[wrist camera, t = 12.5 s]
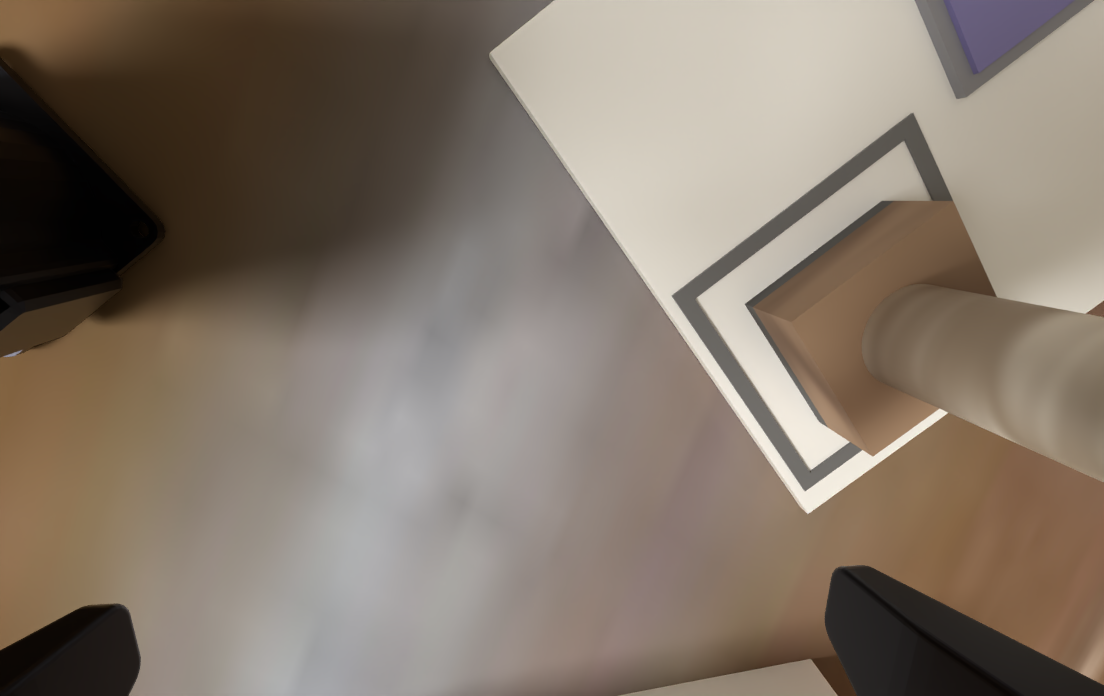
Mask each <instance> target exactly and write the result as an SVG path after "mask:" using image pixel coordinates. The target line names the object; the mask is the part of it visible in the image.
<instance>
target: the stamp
mask: <svg viewBox="0 0 1104 696" xmlns="http://www.w3.org/2000/svg"><path fill="white" fill-rule="evenodd" d="M745 306H746V307H747V309H748V310H749V312H750V314H751V315H752V317H753V318H754V320H755V321H756V323H757V325H758V326H759V328H760V329H761V331H762V333H763V334H764V336H765V337H766V339H767V340H768V342H769V344H770V345H771V347H772V348H773V350H774V351H775V353H776V355H777V356H778V358H779V359H780V361H781V363H782V364H783V366H784V367H785V369H786V370H787V372H788V374H789V375H790V377H791V378H792V380H793V382H794V383H795V385H796V386H797V388H798V389H799V391H800V393H801V394H802V396H803V397H804V399H805V400H806V402H807V404H808V405H809V407H810V408H811V410H812V412H813V413H814V415H815V416H816V418H817V419H818V421H819V422H820V423H821V424H823V425H825V426H826V427H828V428H829V429H831V430H832V431H834V432H835V433H837V434H838V435H840V436H842V437H843V438H845V439H846V440H848V441H849V442H851V443H852V444H854V445H856V446H857V447H859V448H860V449H862V450H863V451H865V452H866V453H868V454H869V455H871V456H875V455H876V454H877V453H879V452H880V451H882V450H883V449H884V448H886V447H887V446H889V445H890V444H891V443H893V442H894V441H895V440H897V439H898V438H900V437H901V436H902V435H904V434H905V433H906V432H908V431H909V430H911V429H912V428H913V427H915V426H916V425H918V424H919V423H920V422H922V421H923V420H924V419H926V418H927V417H929V416H930V415H931V414H933V413H934V412H936V411H937V410H938V409H942V410H944V411H946V412H948V413H950V414H953V415H955V416H957V417H959V418H962V419H964V420H966V421H968V422H970V423H973V424H975V425H977V426H979V427H982V428H984V429H986V430H988V431H990V432H993V433H995V434H997V435H999V436H1002V437H1004V438H1006V439H1008V440H1010V441H1013V442H1015V443H1017V444H1019V445H1022V446H1024V447H1026V448H1028V449H1031V450H1033V451H1035V452H1037V453H1039V454H1042V455H1044V456H1046V457H1048V458H1051V459H1053V460H1055V461H1057V462H1059V463H1062V464H1064V465H1066V466H1068V467H1071V468H1073V469H1075V470H1077V471H1079V472H1082V473H1084V474H1086V475H1088V476H1091V477H1093V478H1095V479H1097V480H1099V481H1102V482H1104V317H1100V316H1094V315H1089V314H1084V313H1078V312H1073V311H1068V310H1062V309H1057V308H1052V307H1046V306H1041V305H1036V304H1030V303H1025V302H1020V301H1014V300H1009V299H1004V298H998V297H997V296H996V294H995V292H994V289H993V287H992V285H991V283H990V281H989V278H988V276H987V274H986V272H985V270H984V267H983V265H982V263H981V261H980V259H979V256H978V254H977V252H976V250H975V248H974V245H973V243H972V241H971V239H970V237H969V234H968V232H967V230H966V228H965V225H964V223H963V221H962V219H961V217H960V214H959V212H958V210H957V208H956V206H955V203H954V201H881V202H879V203H878V204H877V205H875V206H874V207H873V208H871V209H870V210H869V211H867V212H866V213H865V214H863V215H862V216H861V217H859V218H858V219H857V220H856V221H854V222H853V223H852V224H850V225H849V226H848V227H846V228H845V229H844V230H842V231H841V232H840V233H838V234H837V235H836V236H834V237H833V238H832V239H830V240H829V241H828V242H826V243H825V244H824V245H822V246H821V247H820V248H818V249H817V250H816V251H814V252H813V253H812V254H810V255H809V256H808V257H806V258H805V259H804V260H802V261H801V262H800V263H798V264H797V265H796V266H794V267H793V268H792V269H790V270H789V271H788V272H786V273H785V274H784V275H782V276H781V277H780V278H778V279H777V280H776V281H775V282H773V283H772V284H771V285H769V286H768V287H767V288H765V289H764V290H763V291H761V292H760V293H759V294H757V295H756V296H755V297H753V298H752V299H751V300H749V301H748V302H747V303H745Z"/></svg>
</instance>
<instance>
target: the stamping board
mask: <svg viewBox="0 0 1104 696" xmlns="http://www.w3.org/2000/svg"><path fill="white" fill-rule="evenodd" d="M489 58H490V60H491V61H492V63H493V64H494V66H495V67H496V68H497V70H498V71H499V73H500V74H501V76H502V77H503V79H504V80H505V81H506V83H507V84H508V86H509V87H510V89H511V90H512V92H513V93H514V94H515V96H516V97H517V99H518V100H519V102H520V103H521V105H522V106H523V107H524V109H525V110H526V112H527V113H528V115H529V116H530V118H531V119H532V120H533V122H534V123H535V125H536V126H537V128H538V129H539V131H540V132H541V133H542V135H543V136H544V138H545V139H546V141H547V142H548V144H549V145H550V146H551V148H552V149H553V151H554V152H555V154H556V155H557V157H558V158H559V159H560V161H561V162H562V164H563V165H564V167H565V168H566V170H567V171H568V172H569V174H570V175H571V177H572V178H573V180H574V181H575V183H576V184H577V185H578V187H579V188H580V190H581V191H582V193H583V194H584V196H585V197H586V198H587V200H588V201H589V203H590V204H591V206H592V207H593V209H594V210H595V211H596V213H597V214H598V216H599V217H600V219H601V220H602V221H603V223H604V224H605V226H606V227H607V229H608V230H609V232H610V233H611V234H612V236H613V237H614V239H615V240H616V242H617V243H618V245H619V246H620V247H621V249H622V250H623V252H624V253H625V255H626V256H627V258H628V259H629V260H630V262H631V263H632V265H633V266H634V268H635V269H636V271H637V272H638V273H639V275H640V276H641V278H642V279H643V281H644V282H645V284H646V285H647V286H648V288H649V289H650V291H651V292H652V294H653V295H654V297H655V298H656V299H657V301H658V302H659V304H660V305H661V307H662V308H663V310H664V311H665V312H666V314H667V315H668V317H669V318H670V320H671V321H672V323H673V324H674V325H675V327H676V328H677V330H678V331H679V333H680V334H681V336H682V337H683V338H684V340H685V341H686V343H687V344H688V346H689V347H690V349H691V350H692V351H693V353H694V354H695V356H696V357H697V359H698V360H699V362H700V363H701V364H702V366H703V367H704V369H705V370H706V372H707V373H708V375H709V376H710V377H711V379H712V380H713V382H714V383H715V385H716V386H717V388H718V389H719V390H720V392H721V393H722V395H723V396H724V398H725V399H726V401H727V402H728V403H729V405H730V406H731V408H732V409H733V411H734V412H735V414H736V415H737V416H738V418H739V419H740V421H741V422H742V424H743V425H744V427H745V428H746V429H747V431H748V432H749V434H750V435H751V437H752V438H753V440H754V441H755V442H756V444H757V445H758V447H759V448H760V450H761V451H762V453H763V454H764V455H765V457H766V458H767V460H768V461H769V463H770V464H771V466H772V467H773V468H774V470H775V471H776V473H777V474H778V476H779V477H780V479H781V480H782V481H783V483H784V484H785V486H786V487H787V489H788V490H789V492H790V493H791V494H792V496H793V497H794V499H795V500H796V502H797V503H798V505H799V506H800V507H801V508H802V509H803V510H804V511H805V512H806V513H807V514H809V513H810V512H811V511H813V510H814V509H816V508H817V507H818V506H820V505H821V504H822V503H824V502H825V501H827V500H828V499H829V498H831V497H832V496H834V495H835V494H836V493H838V492H839V491H840V490H842V489H843V488H845V487H846V486H847V485H849V484H850V483H852V482H853V481H854V480H856V479H857V478H858V477H860V476H861V475H863V474H864V473H865V472H867V471H868V470H870V469H871V468H872V467H874V466H875V465H876V464H878V463H879V462H881V461H882V460H883V459H885V458H886V457H888V456H889V455H890V454H892V453H893V452H894V451H896V450H897V449H899V448H900V447H901V446H903V445H904V444H906V443H907V442H908V441H910V440H911V439H913V438H914V437H915V436H917V435H918V434H919V433H921V432H922V431H924V430H925V429H926V428H928V427H929V426H931V425H932V424H933V423H935V422H936V421H937V420H939V419H940V418H942V417H943V416H944V415H946V414H947V413H948V412H946V411H944V410H942V409H938V410H937V411H936V412H934V413H933V414H931V415H930V416H929V417H927V418H926V419H924V420H923V421H922V422H920V423H919V424H918V425H916V426H915V427H913V428H912V429H911V430H909V431H908V432H906V433H905V434H904V435H902V436H901V437H900V438H898V439H897V440H895V441H894V442H893V443H891V444H890V445H889V446H887V447H886V448H884V449H883V450H882V451H880V452H879V453H877V454H876V455H875V456H871V455H869V454H868V453H866V452H865V451H863V450H862V449H860V448H859V447H857V446H856V445H854V444H852V443H851V442H849V441H848V440H846V439H845V438H843V437H842V436H840V435H838V434H837V433H835V432H834V431H832V430H831V429H829V428H828V427H826V426H825V425H823V424H821V423H820V422H819V421H818V419H817V418H816V416H815V415H814V413H813V412H812V410H811V408H810V407H809V405H808V404H807V402H806V400H805V399H804V397H803V396H802V394H801V393H800V391H799V389H798V388H797V386H796V385H795V383H794V382H793V380H792V378H791V377H790V375H789V374H788V372H787V370H786V369H785V367H784V366H783V364H782V363H781V361H780V359H779V358H778V356H777V355H776V353H775V351H774V350H773V348H772V347H771V345H770V344H769V342H768V340H767V339H766V337H765V336H764V334H763V333H762V331H761V329H760V328H759V326H758V325H757V323H756V321H755V320H754V318H753V317H752V315H751V314H750V312H749V310H748V309H747V307H746V306H745V303H747V302H748V301H749V300H751V299H752V298H753V297H755V296H756V295H757V294H759V293H760V292H761V291H763V290H764V289H765V288H767V287H768V286H769V285H771V284H772V283H773V282H775V281H776V280H777V279H778V278H780V277H781V276H782V275H784V274H785V273H786V272H788V271H789V270H790V269H792V268H793V267H794V266H796V265H797V264H798V263H800V262H801V261H802V260H804V259H805V258H806V257H808V256H809V255H810V254H812V253H813V252H814V251H816V250H817V249H818V248H820V247H821V246H822V245H824V244H825V243H826V242H828V241H829V240H830V239H832V238H833V237H834V236H836V235H837V234H838V233H840V232H841V231H842V230H844V229H845V228H846V227H848V226H849V225H850V224H852V223H853V222H854V221H856V220H857V219H858V218H859V217H861V216H862V215H863V214H865V213H866V212H867V211H869V210H870V209H871V208H873V207H874V206H875V205H877V204H878V203H879V202H881V201H954V203H955V206H956V208H957V210H958V212H959V214H960V217H961V219H962V221H963V223H964V225H965V228H966V230H967V232H968V234H969V237H970V239H971V241H972V243H973V245H974V248H975V250H976V252H977V254H978V256H979V259H980V261H981V263H982V265H983V267H984V270H985V272H986V274H987V276H988V278H989V281H990V283H991V285H992V287H993V289H994V292H995V294H996V296H997V297H998V298H1004V299H1009V300H1014V301H1020V302H1025V303H1030V304H1036V305H1041V306H1046V307H1052V308H1057V309H1062V310H1068V311H1073V312H1078V313H1084V314H1086V313H1087V312H1088V311H1090V310H1091V309H1093V308H1094V307H1095V306H1097V305H1098V304H1100V303H1101V302H1102V301H1104V0H554V1H553V2H552V3H550V4H549V5H548V6H547V7H545V8H544V9H543V10H542V11H540V12H539V13H538V14H537V15H536V16H534V17H533V18H532V19H531V20H529V21H528V22H527V23H526V24H524V25H523V26H522V27H521V28H519V29H518V30H517V31H516V32H515V33H513V34H512V35H511V36H510V37H508V38H507V39H506V40H505V41H503V42H502V43H501V44H500V45H498V46H497V47H496V48H495V49H494V50H492V51H491V52H490V54H489Z"/></svg>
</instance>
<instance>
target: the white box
mask: <svg viewBox="0 0 1104 696" xmlns="http://www.w3.org/2000/svg"><path fill="white" fill-rule="evenodd" d="M619 696H837V694H836V693H835V691H834V690H833V689H832V687H831V686H830V685H829V683H828V682H827V680H826V679H825V678H824V676H823V675H822V674H821V672H820V671H819V669H818V668H817V667H816V665H815V664H814V663H813V661H812V660H811V659H807V660H802V661H797V662H791V663H786V664H781V665H776V666H771V667H765V668H760V669H755V670H750V671H744V672H739V673H734V674H729V675H723V676H718V677H713V678H708V679H702V680H697V681H692V682H687V683H681V684H676V685H671V686H666V687H661V688H655V689H650V690H645V691H640V692H634V693H629V694H624V695H619Z"/></svg>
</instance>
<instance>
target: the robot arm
mask: <svg viewBox="0 0 1104 696" xmlns="http://www.w3.org/2000/svg"><path fill="white" fill-rule="evenodd" d="M140 222H143V223H145V224H146V225H147V227H148V228H149V234H148V235H147V237H144V236H143V235H141V234H140V232H139V231H138V225H139V223H140ZM164 235H165V229H164V225H163V223H162V222H161V220H160V219H159V218H158V217H157V216H156V215H155V214H154V213H153V212H152V211H151V210H150V209H149V208H148V207H147V206H146V205H145V204H144V203H143V202H142V201H141V200H140V199H139V198H138V197H137V196H136V195H135V194H134V193H133V192H132V191H131V190H130V189H129V188H128V187H127V185H126V184H125V183H124V182H123V181H122V180H121V179H120V178H119V177H118V176H117V175H116V174H115V173H114V172H113V171H112V170H111V169H110V168H109V167H108V166H107V165H106V164H105V163H104V162H103V161H102V160H101V159H100V158H99V157H98V156H97V155H96V154H95V153H94V152H93V151H92V150H91V149H90V148H89V147H88V146H87V145H86V144H85V143H84V142H83V141H82V140H81V139H80V138H79V137H78V136H77V135H76V134H75V133H74V132H73V131H72V130H71V129H70V128H69V127H68V126H67V125H66V124H65V123H64V121H63V120H62V119H61V118H60V117H59V116H58V115H57V114H56V113H55V112H54V111H53V110H52V109H51V108H50V107H49V106H48V105H47V104H46V103H45V102H44V101H43V100H42V99H41V98H40V97H39V96H38V95H37V94H36V93H35V92H34V91H33V90H32V89H31V88H30V87H29V86H28V85H27V84H26V83H25V82H24V81H23V80H22V79H21V78H20V77H19V76H18V75H17V74H16V73H15V72H14V71H13V70H12V69H11V68H10V67H9V66H8V65H7V64H6V63H5V62H4V61H3V60H2V58H1V57H0V357H3V356H4V357H11V356H15V355H18V354H21V353H24V352H26V351H28V350H29V349H31V348H32V347H33V346H36V345H39V344H42V343H45V342H48V341H51V340H54V339H57V338H60V337H63V336H65V335H66V334H68V333H69V332H70V331H71V330H72V329H74V328H75V327H76V326H77V325H79V324H80V323H81V322H82V321H83V320H85V319H86V318H87V317H88V316H90V315H91V314H92V313H93V312H94V311H96V310H97V309H98V308H99V307H101V306H102V305H103V304H104V303H105V302H107V301H108V300H109V299H110V298H112V297H113V296H114V295H115V294H116V293H118V292H119V291H120V290H121V289H122V282H123V279H122V278H121V277H120V275H121V274H122V273H123V272H125V271H126V270H127V269H128V268H129V267H131V266H132V265H133V264H134V263H136V262H137V261H138V260H139V259H140V258H142V257H143V256H144V255H145V254H147V253H148V252H149V251H150V250H151V249H153V248H154V247H155V246H156V245H158V244H159V243H160V242H161V241H162V239H163V238H164ZM825 626H826V631H827V634H828V636H829V639H830V641H831V643H832V645H833V647H834V649H835V651H836V653H837V655H838V658H839V660H840V662H841V664H842V666H843V668H844V670H845V672H846V674H847V676H848V678H849V680H850V682H851V684H852V686H853V689H854V691H855V693H856V695H857V696H1104V685H1102V684H1100V683H1098V682H1096V681H1094V680H1092V679H1090V678H1088V677H1086V676H1084V675H1082V674H1080V673H1078V672H1077V671H1075V670H1073V669H1071V668H1069V667H1067V666H1065V665H1063V664H1061V663H1059V662H1057V661H1055V660H1053V659H1051V658H1049V657H1047V656H1045V655H1043V654H1041V653H1039V652H1037V651H1035V650H1033V649H1031V648H1029V647H1027V646H1025V645H1023V644H1021V643H1019V642H1017V641H1015V640H1013V639H1011V638H1010V637H1008V636H1006V635H1004V634H1002V633H1000V632H998V631H996V630H994V629H992V628H990V627H988V626H986V625H984V624H982V623H980V622H978V621H976V620H974V619H972V618H970V617H968V616H966V615H964V614H962V613H960V612H958V611H956V610H954V609H952V608H950V607H948V606H946V605H945V604H943V603H941V602H939V601H937V600H935V599H933V598H931V597H929V596H927V595H925V594H923V593H921V592H919V591H917V590H915V589H913V588H911V587H909V586H907V585H905V584H903V583H901V582H899V581H897V580H895V579H893V578H891V577H889V576H887V575H885V574H883V573H881V572H880V571H878V570H876V569H874V568H871V567H869V566H865V565H857V566H841V567H838V568H836V569H835V570H834V572H833V573H832V577H831V583H830V588H829V594H828V600H827V605H826V611H825ZM140 662H141V657H140V652H139V648H138V644H137V640H136V636H135V632H134V628H133V624H132V620H131V616H130V612H129V610H128V609H127V608H126V607H125V606H124V605H121V604H99V605H88V606H84V607H81V608H79V609H77V610H75V611H73V612H71V613H69V614H67V615H66V616H64V617H62V618H60V619H58V620H56V621H54V622H52V623H51V624H49V625H47V626H45V627H43V628H41V629H39V630H38V631H36V632H34V633H32V634H30V635H28V636H26V637H24V638H23V639H21V640H19V641H17V642H15V643H13V644H11V645H9V646H8V647H6V648H4V649H2V650H0V696H129V694H130V692H131V690H132V688H133V686H134V684H135V682H136V679H137V677H138V674H139V670H140Z"/></svg>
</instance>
